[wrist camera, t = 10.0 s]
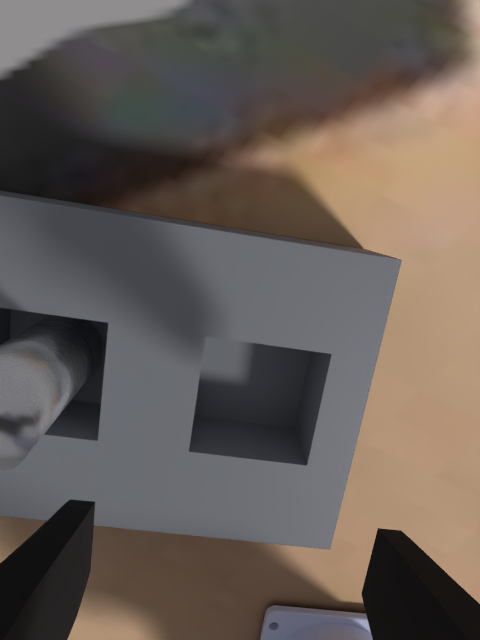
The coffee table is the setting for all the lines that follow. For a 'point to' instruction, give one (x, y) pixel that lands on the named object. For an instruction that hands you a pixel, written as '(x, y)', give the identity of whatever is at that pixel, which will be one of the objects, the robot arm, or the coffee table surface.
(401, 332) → the coffee table surface
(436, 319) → the coffee table surface
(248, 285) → the hole board
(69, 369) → the pin
